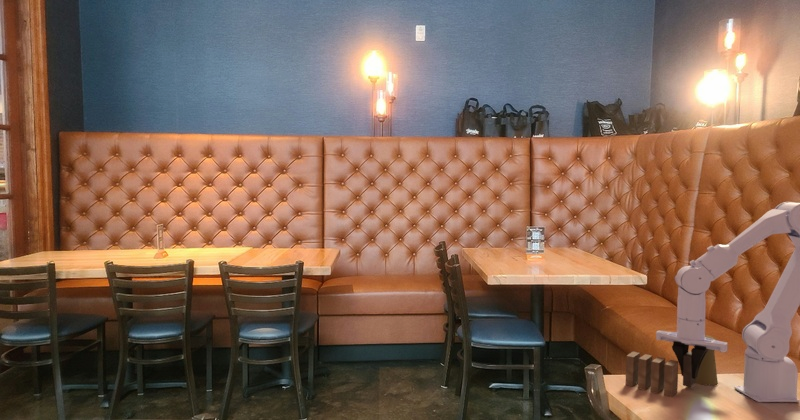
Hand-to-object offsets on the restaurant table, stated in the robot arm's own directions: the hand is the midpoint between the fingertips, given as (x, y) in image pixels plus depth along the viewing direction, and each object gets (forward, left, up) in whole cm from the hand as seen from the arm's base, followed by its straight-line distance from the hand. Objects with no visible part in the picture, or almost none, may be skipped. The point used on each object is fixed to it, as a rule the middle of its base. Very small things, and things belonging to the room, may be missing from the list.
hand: (689, 376), depth 121 cm
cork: (-6, -4, -3) cm, 8 cm away
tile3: (+8, +1, -3) cm, 9 cm away
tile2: (+6, +3, -3) cm, 7 cm away
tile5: (+12, -3, -3) cm, 13 cm away
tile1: (0, 0, -2) cm, 2 cm away
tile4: (+10, -1, -3) cm, 10 cm away
